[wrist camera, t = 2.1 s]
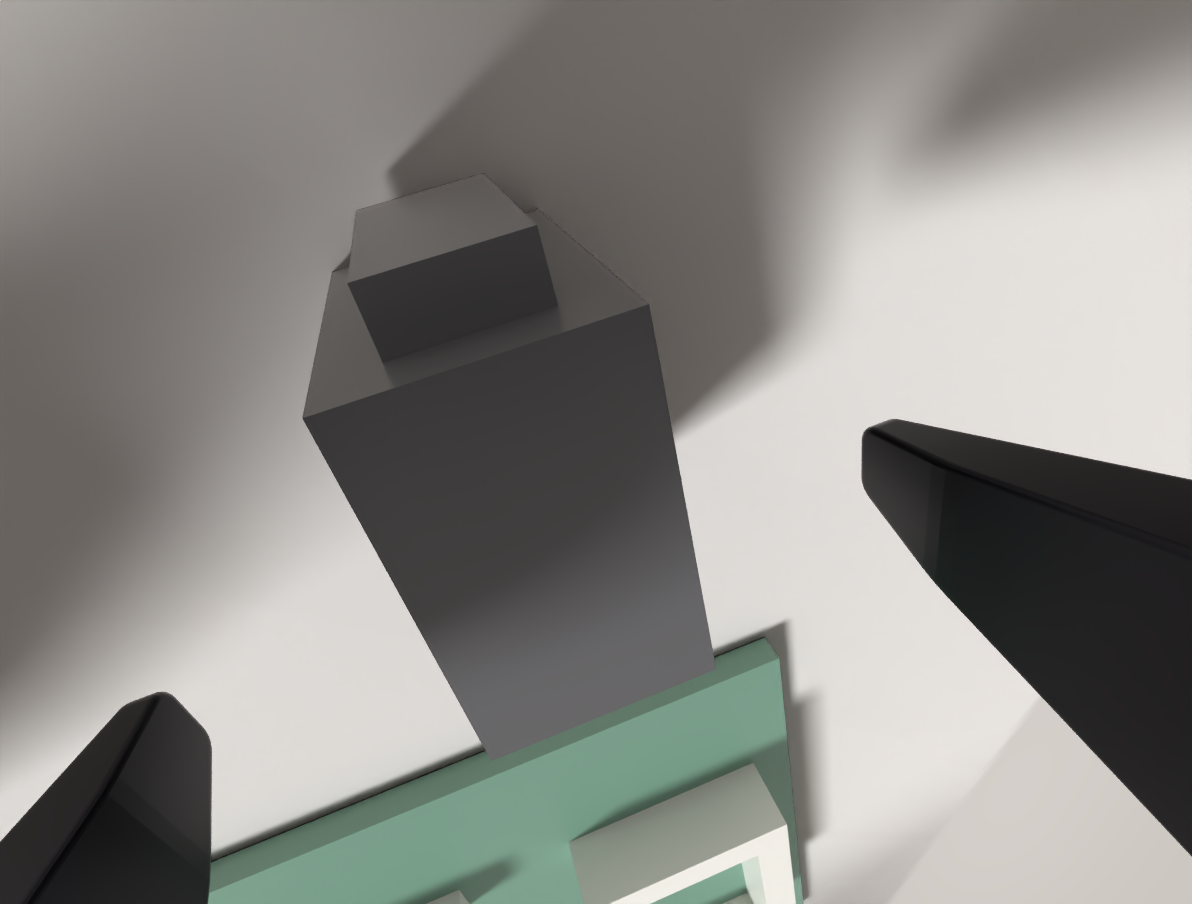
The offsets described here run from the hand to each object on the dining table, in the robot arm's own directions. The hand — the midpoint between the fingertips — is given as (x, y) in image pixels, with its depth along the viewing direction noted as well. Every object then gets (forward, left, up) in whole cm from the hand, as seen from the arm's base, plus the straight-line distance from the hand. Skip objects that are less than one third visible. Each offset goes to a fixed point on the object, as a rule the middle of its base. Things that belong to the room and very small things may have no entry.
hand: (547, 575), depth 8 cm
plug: (0, 0, -6) cm, 6 cm away
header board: (-4, -19, -5) cm, 20 cm away
